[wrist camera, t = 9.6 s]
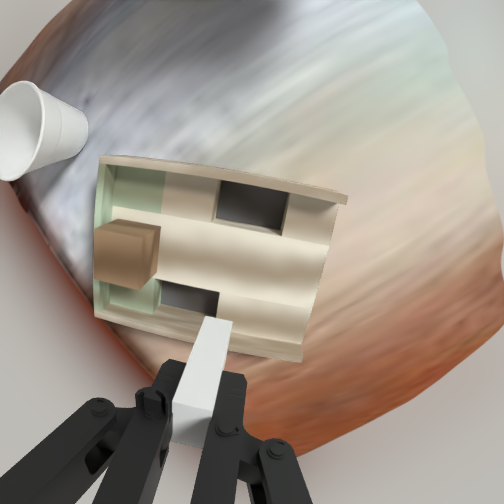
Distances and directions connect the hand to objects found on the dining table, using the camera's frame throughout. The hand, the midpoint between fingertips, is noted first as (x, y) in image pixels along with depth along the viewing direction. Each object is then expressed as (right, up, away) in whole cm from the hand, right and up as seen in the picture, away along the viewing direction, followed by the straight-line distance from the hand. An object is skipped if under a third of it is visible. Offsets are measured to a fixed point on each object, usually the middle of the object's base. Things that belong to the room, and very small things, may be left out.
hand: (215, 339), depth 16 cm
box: (-2, +5, +17) cm, 18 cm away
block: (-10, +6, +14) cm, 18 cm away
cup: (-20, +19, +14) cm, 31 cm away
